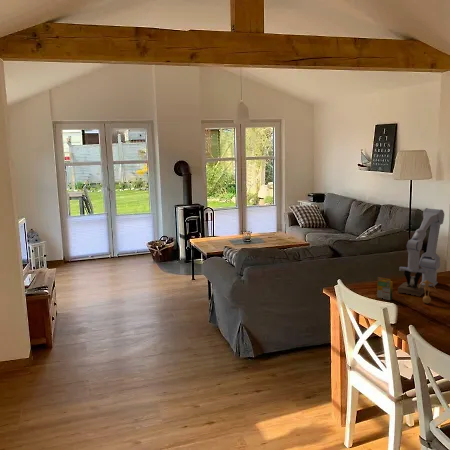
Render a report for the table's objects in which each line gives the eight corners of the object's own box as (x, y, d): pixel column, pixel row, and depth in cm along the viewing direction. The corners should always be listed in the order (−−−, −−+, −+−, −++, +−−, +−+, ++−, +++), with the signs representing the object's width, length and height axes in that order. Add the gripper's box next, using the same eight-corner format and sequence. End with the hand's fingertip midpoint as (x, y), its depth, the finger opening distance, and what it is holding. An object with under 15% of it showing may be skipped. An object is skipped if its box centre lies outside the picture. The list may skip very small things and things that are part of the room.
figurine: (418, 304, 242) (419, 281, 240) (417, 300, 248) (418, 278, 246) (435, 305, 240) (437, 282, 238) (434, 301, 246) (435, 279, 244)
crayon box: (392, 299, 251) (393, 278, 248) (389, 300, 248) (390, 279, 246) (379, 296, 255) (379, 275, 253) (376, 297, 253) (377, 276, 251)
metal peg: (409, 287, 264) (410, 275, 262) (416, 288, 262) (416, 276, 261) (408, 289, 261) (409, 277, 259) (415, 290, 259) (415, 278, 258)
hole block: (404, 287, 270) (404, 281, 269) (426, 290, 263) (426, 285, 262) (397, 292, 260) (397, 287, 260) (420, 296, 253) (420, 291, 253)
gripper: (397, 260, 259) (396, 284, 262) (425, 264, 251) (424, 289, 253) (401, 258, 265) (400, 281, 267) (429, 261, 256) (427, 285, 259)
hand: (412, 284), depth 261 cm, fingers closed on metal peg, 3 cm apart
